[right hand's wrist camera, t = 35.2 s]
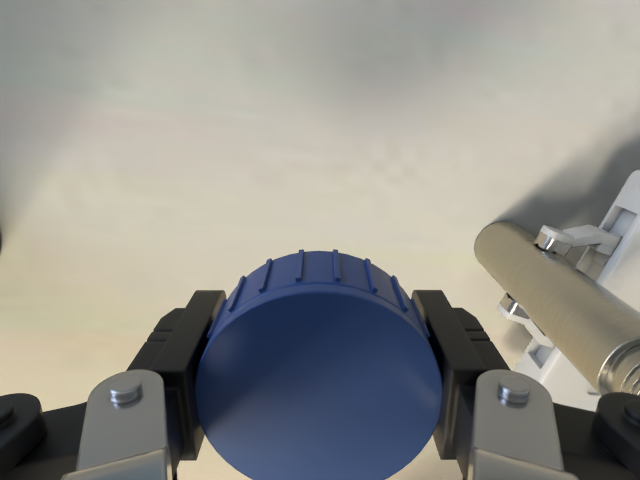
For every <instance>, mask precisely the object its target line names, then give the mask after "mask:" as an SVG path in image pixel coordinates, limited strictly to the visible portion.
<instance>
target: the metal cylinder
mask: <svg viewBox="0 0 640 480" xmlns="http://www.w3.org/2000/svg"><path fill="white" fill-rule="evenodd" d="M535 239H536V238H534V237H533V236H531V235H530V234H529V233H527V232H526V231H524V230H523V229H522V228H520V227H519V226H517V225H516V224H514V223H511V222H497V223H493V224H491V225H489V226H488V227H486V228H485V229H484V230H483V231H482V232H481V233H480V234H479V235H478V237H477V239H476V242H475V248H474V249H475V255H476V258H477V260H478V261H479V262H480V263H481V264H482V266H483V267H484V268H485V269H486V270H487V271H488V272H489V273H490V274H491V276H492V277H493V278H494V279H495V280H496V281H497V282H498V283H499V284H500V285H501V287H502V288H503V289H504V290H505V291H506V292H507V293H508V294H509V295H510V296H511V298H512V299H513V300H514V301H515V302H516V303H517V304H518V305H519V306H520V307H521V309H522V310H523V311H524V312H525V313H526V314H527V315H528V316H529V317H530V318H531V320H532V321H533V322H534V323H535V324H536V325H537V326H538V327H539V328H540V329H541V331H542V332H543V333H544V334H545V335H546V336H547V337H548V338H549V339H550V340H551V342H552V343H553V344H554V345H555V346H556V347H557V348H558V349H559V350H560V351H561V353H562V354H563V355H564V356H565V357H566V358H567V359H568V360H569V361H570V362H571V364H572V365H573V366H574V367H575V368H576V369H577V370H578V371H579V372H580V373H581V375H582V376H583V377H584V378H585V379H586V380H587V381H588V382H589V383H590V384H591V386H592V387H593V388H594V389H595V390H596V391H597V392H598V393H599V394H600V395H601V396H603V395H605V394H607V393H611V392H625V393H631V394H636V395H639V396H640V312H638V311H637V310H635V309H634V308H633V307H631V306H630V305H628V304H627V303H626V302H624V301H623V300H621V299H620V298H619V297H617V296H616V295H614V294H613V293H612V292H610V291H609V290H607V289H606V288H605V287H603V286H602V285H600V284H599V283H597V282H596V281H595V280H593V279H592V278H590V277H589V276H588V275H586V274H585V273H583V272H582V271H581V270H579V269H578V268H576V267H575V266H574V265H572V264H571V263H569V262H568V261H567V260H565V259H564V258H562V257H561V256H560V255H558V254H556V253H555V252H549V251H546V250H544V249H542V248H540V247H539V245H537V244H535V243H534V241H535Z"/></svg>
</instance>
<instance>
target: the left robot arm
mask: <svg viewBox="0 0 640 480" xmlns="http://www.w3.org/2000/svg"><path fill="white" fill-rule="evenodd" d="M534 243H535V244H537V245H539V247H540V248H542V249H544V250H546V251H549V252H555V253H556V254H558V255H561V256H564V257H565V256H566V254H567V253H568V251H569V249H570V248H571V247H578V246H585V245H588V246H587V248H586V250H585V251H584V253H583V255H582V256H581V258H580V260H579V261H578V263H577V265H576V266H575V267H576V268H578V269H579V270H581V271H582V272H583V273H585V274H586V275H588V276H589V277H590V278H592V279H593V280H595V281H596V282H597V283H599V284H600V285H602V286H603V287H605V288H606V289H607V290H609V291H610V292H612V293H613V294H614V295H616V296H617V297H619V298H620V299H621V300H623V301H624V302H626V303H627V304H628V305H630V306H631V307H633V308H634V309H635V310H637V311H638V312H640V169H639V170H636V171H634V172H632V174H631V175H630V176H629V178H628V179H627V181H626V183H625V184H624V186H623V188H622V189H621V191H620V193H619V194H618V196H617V198H616V199H615V201H614V203H613V204H612V206H611V208H610V209H609V211H608V213H607V214H606V216H605V218H604V220H603V221H602V223H601V225H600V226H599V228H598V227H595V226H592V225H589V224H587V225H582V226H578V227H573V228H568V229H563V231H561V230H558V229H555V228H553V227H550V226H547V225H543V226H542V228H541V230H540V232H539V234H538V235H537V237H536V239H535V241H534ZM497 309H498V311H499V312H500V313H501V314H502V316H504V317H505V318H507V319H509V320H512V321H515V322H518V323H521V324H523V325H524V326H525V328H526V329H527V330H528V331H529V332H530V334H531V335H532V336H533V338H532V340H531V342H530V343H529V345H528V347H527V348H526V350H525V352H524V353H523V355H522V357H521V358H520V360H519V362H518V363H517V365H516V367H515V368H514V370H513V371H515V372H519V373H522V374H524V375H527V376H529V377H531V378H533V379H534V380H536V381H538V382H539V383H540V384H542V385H543V386H544V387H545V388H546V389H547V390H548V392H549V393H550V395H551V398H552V401H553V402H554V403H558V404H561V405H566V406H571V407H575V408H580V409H585V410H589V411H594V412H595V411H596V408H597V404H598V401H599V398H600V397H601V395H600V394H599V393H598V392H597V391H596V390H595V389H594V388H593V387H592V386H591V384H590V383H589V382H588V381H587V380H586V379H585V378H584V377H583V376H582V375H581V373H580V372H579V371H578V370H577V369H576V368H575V367H574V366H573V365H572V364H571V362H570V361H569V360H568V359H567V358H566V357H565V356H564V355H563V354H562V353H561V351H560V350H559V349H558V348H557V347H556V346H555V345H554V344H553V343H552V342H551V340H550V339H549V338H548V337H547V336H546V335H545V334H544V333H543V332H542V331H541V329H540V328H539V327H538V326H537V325H536V324H535V323H534V322H533V321H532V320H531V319H530V317H529V316H528V315H527V314H526V313H525V312H524V311H523V310H522V309H521V307H520V306H519V305H518V304H517V303H516V302H515V301H514V300H513V299H512V298H511V296H510V295H509V294H508V293H505V295H504V297H503V299H502V300H501V302H500V304H499V306H498V308H497Z"/></svg>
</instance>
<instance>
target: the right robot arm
mask: <svg viewBox="0 0 640 480" xmlns="http://www.w3.org/2000/svg"><path fill="white" fill-rule="evenodd" d="M412 298H414V300H415V302H416V304H417V307H418V309H419V311H420V314H421V316H422V318H423V320H424V323H425V325H426V327H427V330H428V332H429V334H430V337H428V341H429V343H430V345H431V348H432V350H433V353H434V355H435V357H436V360H437V362H438V365H439V369H440V372H441V376H442V397H441V406H440V414H439V420H438V423H437V426H436V428H435V430H434V432H433V437H434V440H435V443H436V446H437V450H438V453H439V456H440V459H441V460H457V461H458V464H459V467H460V469H461V472H462V480H640V396H639V395H636V394H631V393H625V392H611V393H607V394H605V395H603V396H601V397H600V398H599V401H598V404H597V408H596V411H595V412H594V411H589V410H585V409H580V408H575V407H571V406H566V405H561V404H558V403H554V402H553V401H552V398H551V395H550V393H549V392H548V390H547V389H546V388H545V387H544V386H543V385H542V384H540V383H539V382H538V381H536V380H534V379H533V378H531V377H529V376H527V375H524V374H522V373H519V372H515V371H511V370H510V368H509V367H508V365H507V364H506V362H505V361H504V359H503V358H502V356H501V355H500V353H499V352H498V350H497V349H496V347H495V346H494V344H493V343H492V341H490V338H489V337H488V335H487V334H486V332H484V329H483V327H482V326H481V324H480V323H479V321H478V320H477V318H476V317H474V316H473V315H471V314H470V313H469V312H467V311H466V310H464V309H463V308H452V307H451V305H450V303H449V302H448V300H447V298H446V297H445V295H444V293H443V292H442V290H414V291H413V293H412ZM412 298H411V299H412ZM224 299H226V294H225V291H224V290H197V291H195V293H194V294H193V296H192V298H191V300H190V301H189V303H188V305H187V306H186V308H175V309H174V310H172V311H171V312H170V313H168V314H167V315H165V316H164V317H162V318H161V319H160V321H159V322H158V324H157V325H156V327H155V328H154V332H152V333H151V334H150V336H149V337H148V339H147V342H145V343H144V345H143V346H142V348H141V349H140V351H139V352H138V354H137V355H136V357H135V358H134V360H133V361H132V363H131V364H130V366H129V367H128V369H127V370H126V371H125V372H121V373H118V374H116V375H113V376H111V377H109V378H107V379H106V380H104V381H102V382H101V383H100V384H98V385H97V386H96V387H95V388H94V389H93V390H92V392H91V393H90V395H89V398H88V401H87V402H85V403H82V404H78V405H74V406H69V407H65V408H60V409H56V410H51V411H46V412H43V411H42V408H41V404H40V401H39V399H38V398H37V397H35V396H33V395H30V394H24V393H16V394H9V395H4V396H0V480H178V475H177V467H178V464H179V461H180V460H197V457H198V454H199V451H200V448H201V444H202V441H203V438H204V435H205V433H204V431H203V430H202V427H201V424H200V422H199V419H198V411H197V403H196V394H195V377H196V373H197V369H198V366H199V362H200V360H201V358H202V355H203V353H204V351H205V349H206V346H207V344H208V342H209V338H207V335H208V332H209V330H210V328H211V326H212V324H213V321H214V319H215V317H216V315H217V313H218V310H219V308H220V306H221V304H222V301H223V300H224Z"/></svg>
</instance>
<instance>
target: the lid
mask: <svg viewBox="0 0 640 480" xmlns="http://www.w3.org/2000/svg"><path fill="white" fill-rule="evenodd" d="M428 337H430V334H429V332H428V330H427V327H426V325H425V323H424V320H423V318H422V316H421V314H420V311H419V309H418V307H417V304H416V302H415V300H414V298H412V299H410V298H409V297H408V295H407V294H406V292H405V291H404V290H403V288H402V287H401V286H400V285H399V283H398V280H397V278H396V277H395V276H394V275H393V276H392V277H391V276H389V275H388V274H387V273H386V272H384V271H383V270H381V269H380V268H378V267H376V266H375V265H373V264H371V262H370V260H369V259H367V258H366V259H365V260H362V259H360V258H357V257H354V256H351V255H347V254H342V253H338V250H334V249H333V252H327V251H310V252H304V250H299V253H296V254H290V255H287V256H284V257H281V258H278V259H275V260H273V261H272V259H268V260H267V262H266V264H264V265H263V266H261V267H260V268H258V269H256V270H255V271H253V272H252V273H251V274H249V275H248V276H247V277H245V276H242V277H241V279H240V281H239V283H238V286H237V287H236V288H235V289H234V290H233V292H232V293H231V295H230V296H229V298H228V299H227V300H226V299H224V300H223V301H222V304H221V306H220V308H219V310H218V313H217V315H216V317H215V319H214V321H213V324H212V326H211V328H210V330H209V332H208V335H207V338H209V342H208V344H207V346H206V349H205V351H204V353H203V355H202V358H201V360H200V362H199V366H198V369H197V373H196V377H195V394H196V403H197V411H198V419H199V422H200V424H201V427H202V430H203V431H204V433H205V435H206V437H207V439H208V441H209V442H210V443H211V445H212V446H213V447H214V449H215V450H216V451H217V452H218V453H219V454H220V456H221V457H222V458H223V459H224V460H225V461H226V462H228V463H229V464H230V465H231V466H233V467H234V468H235V469H236V470H238V471H239V472H241V473H242V474H244V475H246V476H247V477H249V478H251V479H253V480H385V479H387V478H389V477H390V476H392V475H394V474H395V473H397V472H398V471H400V470H401V469H403V468H404V467H405V466H406V465H407V464H409V463H410V462H411V461H412V460H413V459H414V458H415V457H416V456H417V455H418V454H419V453H420V452H421V451H422V449H423V448H424V447H425V445H426V444H427V442H428V441H429V440H430V438H431V436H432V434H433V432H434V430H435V428H436V426H437V423H438V420H439V414H440V406H441V397H442V376H441V372H440V369H439V365H438V362H437V360H436V357H435V355H434V353H433V350H432V348H431V345H430V343H429V341H428Z"/></svg>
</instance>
